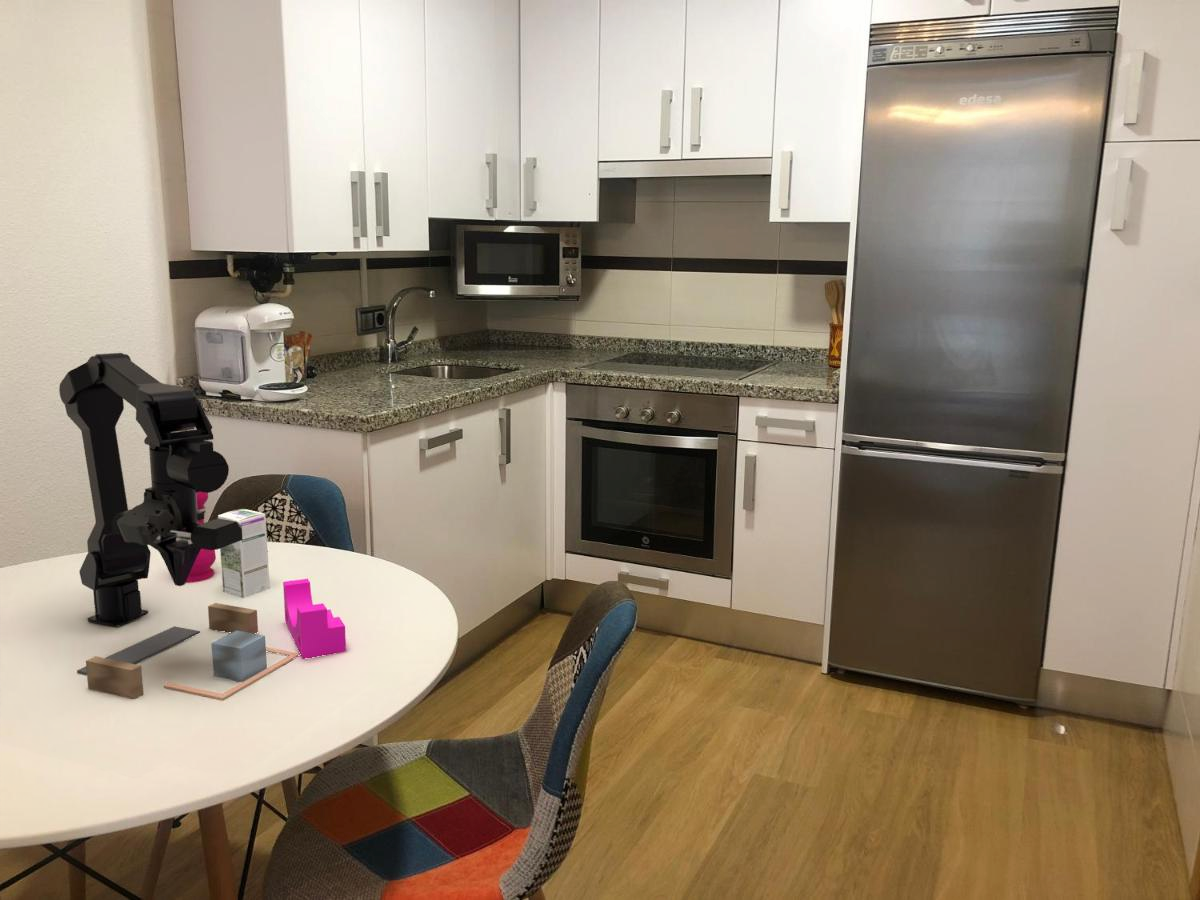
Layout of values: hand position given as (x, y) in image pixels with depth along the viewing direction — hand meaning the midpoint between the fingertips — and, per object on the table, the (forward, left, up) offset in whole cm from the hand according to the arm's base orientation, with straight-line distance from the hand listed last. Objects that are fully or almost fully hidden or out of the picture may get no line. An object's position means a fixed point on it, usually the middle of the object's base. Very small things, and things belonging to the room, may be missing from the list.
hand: (180, 585), depth 140 cm
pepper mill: (-23, +27, -11) cm, 37 cm away
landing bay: (+10, -1, -11) cm, 15 cm away
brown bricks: (0, -1, -11) cm, 11 cm away
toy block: (+13, +13, -11) cm, 22 cm away
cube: (+11, -1, -11) cm, 16 cm away
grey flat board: (-7, -1, -11) cm, 13 cm away
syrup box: (-10, +25, -11) cm, 29 cm away
